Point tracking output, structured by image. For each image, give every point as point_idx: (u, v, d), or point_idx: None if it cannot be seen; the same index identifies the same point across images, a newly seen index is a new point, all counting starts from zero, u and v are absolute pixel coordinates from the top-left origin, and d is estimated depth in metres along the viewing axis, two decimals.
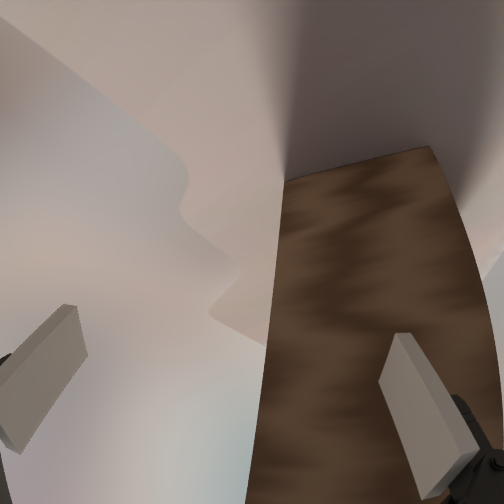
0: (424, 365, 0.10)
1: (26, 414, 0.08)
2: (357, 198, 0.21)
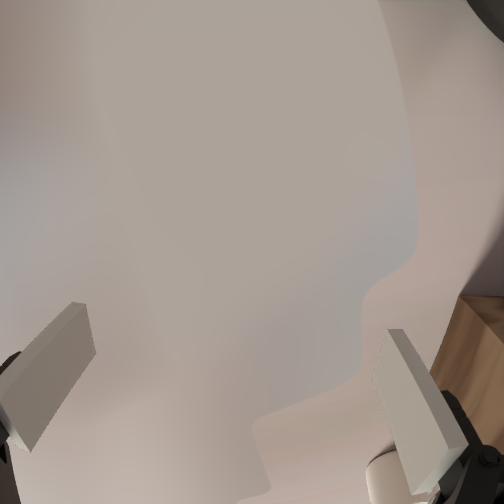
0: (415, 361, 0.10)
1: (36, 412, 0.08)
2: None
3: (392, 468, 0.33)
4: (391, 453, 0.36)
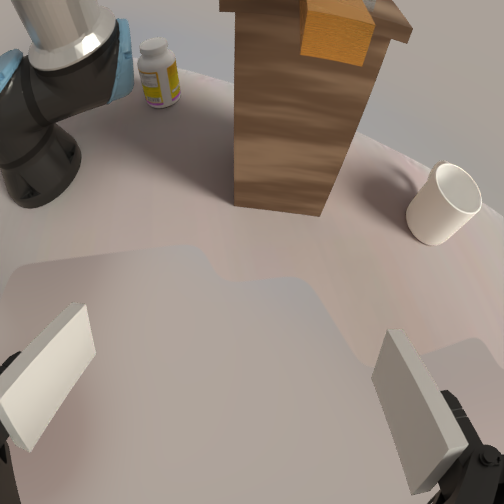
0: (415, 361, 0.10)
1: (36, 412, 0.08)
2: None
3: (418, 219, 0.41)
4: (408, 225, 0.44)
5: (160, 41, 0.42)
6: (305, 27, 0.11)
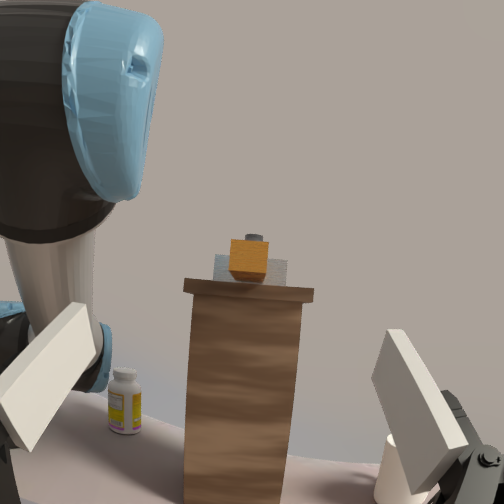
0: (415, 361, 0.10)
1: (36, 412, 0.08)
2: None
3: (385, 490, 0.30)
4: (379, 503, 0.30)
5: (131, 370, 0.55)
6: (230, 250, 0.26)
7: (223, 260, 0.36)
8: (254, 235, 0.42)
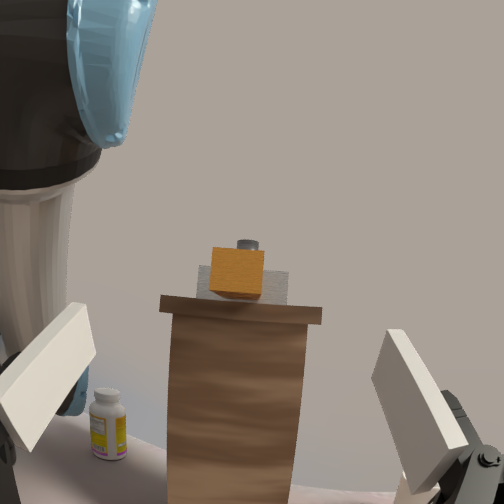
0: (415, 361, 0.10)
1: (36, 412, 0.08)
2: None
3: None
4: None
5: (114, 391, 0.48)
6: (212, 263, 0.19)
7: (209, 272, 0.29)
8: (248, 241, 0.35)
